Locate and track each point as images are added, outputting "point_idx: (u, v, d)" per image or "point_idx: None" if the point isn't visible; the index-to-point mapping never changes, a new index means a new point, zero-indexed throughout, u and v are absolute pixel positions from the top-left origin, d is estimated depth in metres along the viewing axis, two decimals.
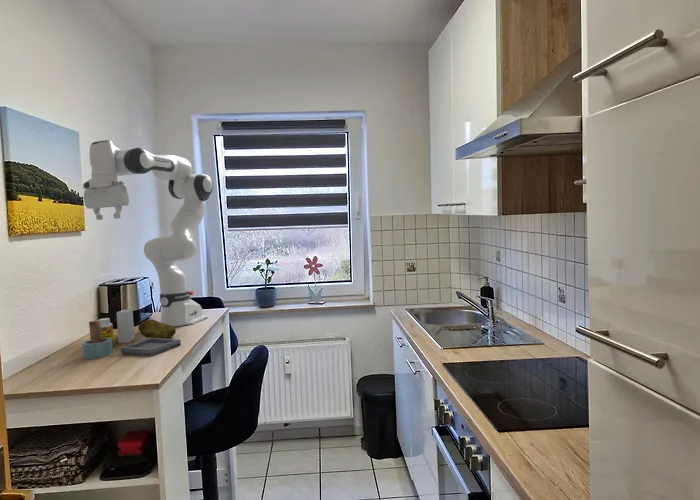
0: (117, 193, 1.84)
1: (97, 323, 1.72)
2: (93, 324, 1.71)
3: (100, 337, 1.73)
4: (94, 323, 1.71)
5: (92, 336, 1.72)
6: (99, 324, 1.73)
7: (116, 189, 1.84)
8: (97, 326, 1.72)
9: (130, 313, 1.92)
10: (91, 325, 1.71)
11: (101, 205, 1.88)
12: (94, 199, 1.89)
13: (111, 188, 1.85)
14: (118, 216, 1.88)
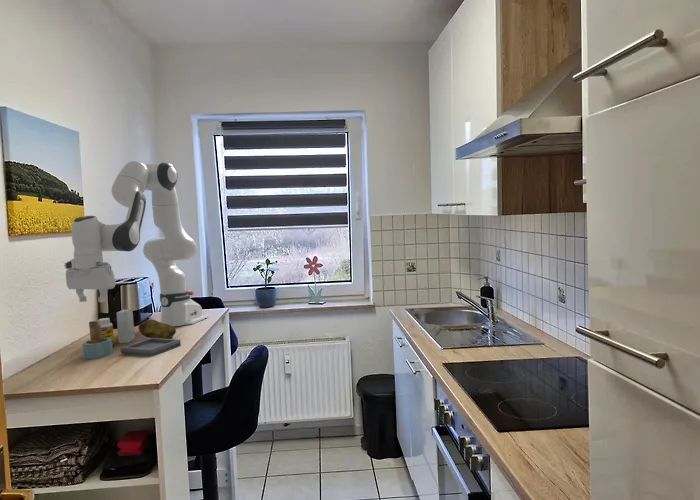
0: (102, 275, 1.67)
1: (97, 323, 1.72)
2: (93, 324, 1.71)
3: (100, 337, 1.73)
4: (94, 323, 1.71)
5: (92, 336, 1.72)
6: (99, 324, 1.73)
7: (100, 271, 1.67)
8: (97, 326, 1.72)
9: (130, 313, 1.92)
10: (91, 325, 1.71)
11: (84, 287, 1.71)
12: (77, 280, 1.72)
13: (95, 270, 1.68)
14: (103, 300, 1.70)
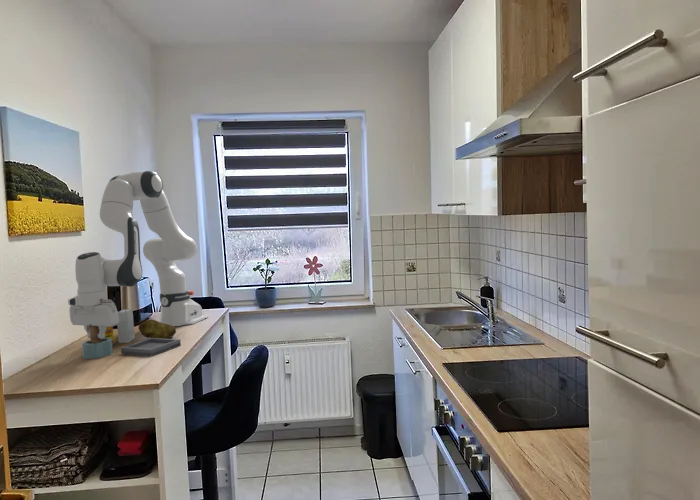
0: (105, 313, 1.68)
1: None
2: None
3: None
4: None
5: (92, 336, 1.72)
6: None
7: (104, 309, 1.68)
8: (97, 326, 1.72)
9: (130, 313, 1.92)
10: (91, 325, 1.71)
11: (88, 324, 1.72)
12: (81, 316, 1.73)
13: (99, 307, 1.69)
14: (102, 336, 1.72)
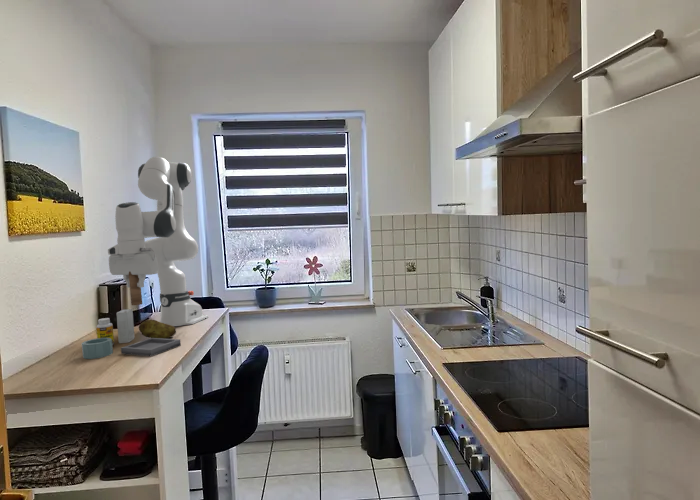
0: (145, 261, 1.69)
1: None
2: None
3: None
4: None
5: (131, 285, 1.73)
6: None
7: (144, 257, 1.69)
8: (136, 275, 1.73)
9: (130, 313, 1.92)
10: (130, 274, 1.73)
11: (128, 273, 1.73)
12: (120, 265, 1.74)
13: (139, 255, 1.70)
14: (142, 285, 1.73)
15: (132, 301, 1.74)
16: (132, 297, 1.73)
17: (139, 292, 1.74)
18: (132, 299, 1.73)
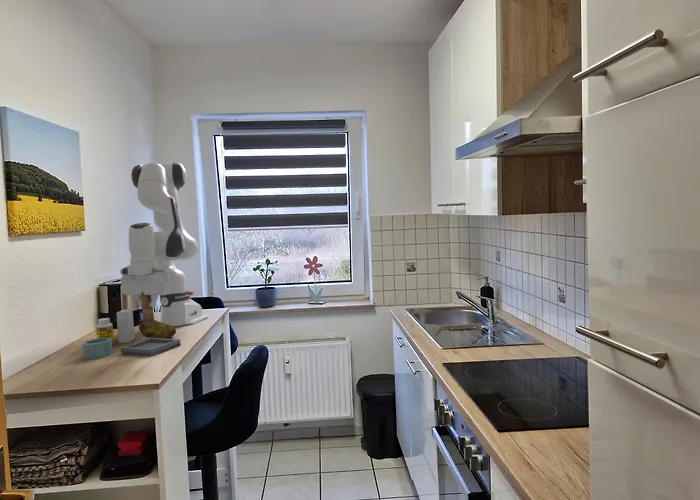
0: (158, 282, 1.70)
1: None
2: None
3: None
4: None
5: (144, 305, 1.74)
6: None
7: (157, 277, 1.70)
8: (149, 295, 1.74)
9: (130, 313, 1.92)
10: (143, 294, 1.74)
11: (140, 293, 1.74)
12: (133, 285, 1.75)
13: (152, 276, 1.71)
14: (154, 305, 1.74)
15: (144, 321, 1.74)
16: (144, 317, 1.74)
17: (151, 312, 1.75)
18: (144, 319, 1.74)
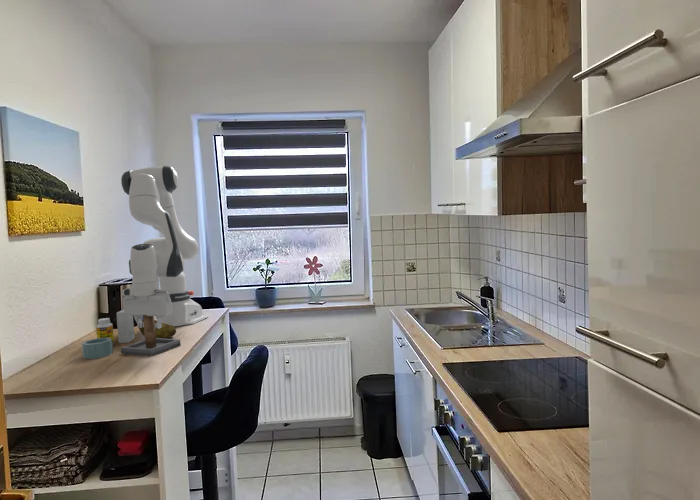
0: (160, 303, 1.71)
1: None
2: (147, 317, 1.74)
3: (153, 329, 1.76)
4: None
5: (146, 328, 1.75)
6: (152, 316, 1.76)
7: (159, 299, 1.71)
8: (151, 318, 1.75)
9: None
10: (145, 317, 1.74)
11: (142, 314, 1.75)
12: (135, 306, 1.76)
13: (154, 297, 1.72)
14: (159, 326, 1.74)
15: (147, 344, 1.75)
16: (147, 340, 1.75)
17: (153, 335, 1.76)
18: (147, 342, 1.75)
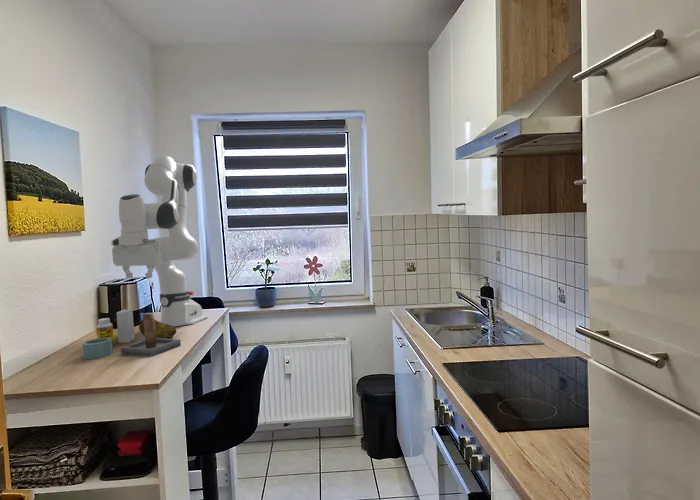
0: (149, 252, 1.73)
1: (151, 315, 1.75)
2: (147, 317, 1.74)
3: (153, 329, 1.76)
4: (148, 315, 1.74)
5: (146, 328, 1.75)
6: (153, 316, 1.76)
7: (148, 248, 1.73)
8: (151, 318, 1.75)
9: (130, 313, 1.92)
10: (145, 317, 1.74)
11: (132, 264, 1.76)
12: (124, 256, 1.77)
13: (143, 247, 1.73)
14: (150, 275, 1.76)
15: (147, 344, 1.75)
16: (147, 340, 1.75)
17: (154, 335, 1.76)
18: (147, 342, 1.75)
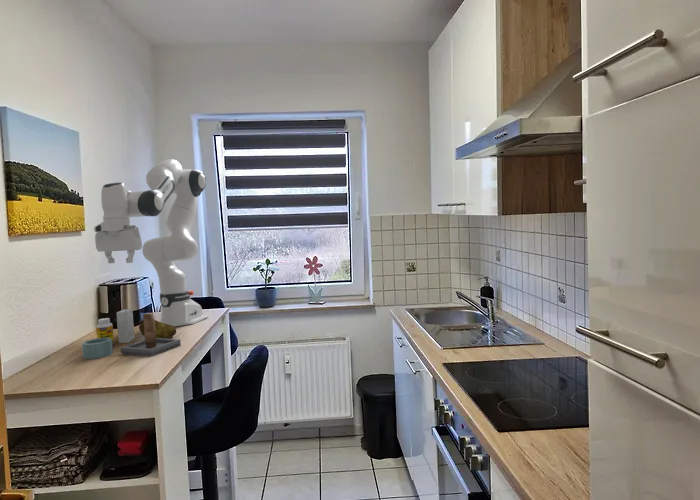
0: (130, 237, 1.79)
1: (151, 315, 1.75)
2: (147, 317, 1.74)
3: (154, 329, 1.76)
4: (148, 315, 1.74)
5: (146, 328, 1.75)
6: (153, 316, 1.76)
7: (128, 233, 1.79)
8: (151, 318, 1.75)
9: (130, 313, 1.92)
10: (145, 317, 1.74)
11: (113, 249, 1.83)
12: (106, 242, 1.84)
13: (123, 232, 1.80)
14: (131, 260, 1.83)
15: (147, 344, 1.75)
16: (147, 340, 1.75)
17: (154, 335, 1.76)
18: (147, 342, 1.75)
